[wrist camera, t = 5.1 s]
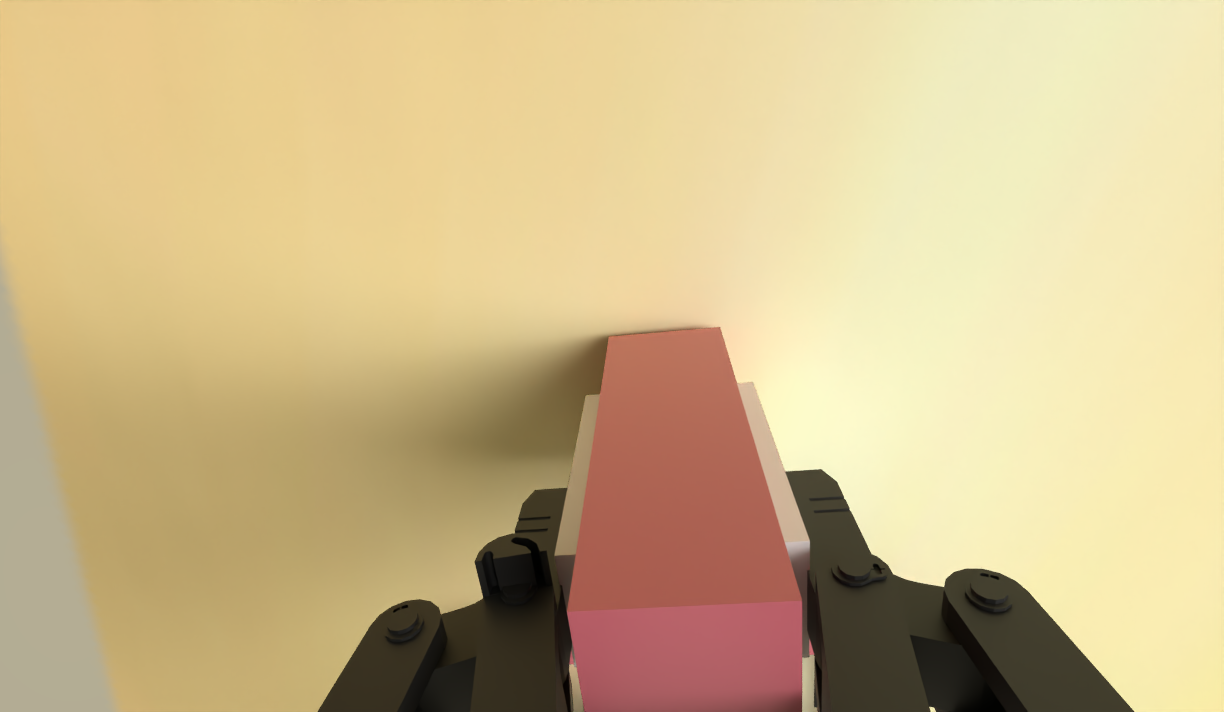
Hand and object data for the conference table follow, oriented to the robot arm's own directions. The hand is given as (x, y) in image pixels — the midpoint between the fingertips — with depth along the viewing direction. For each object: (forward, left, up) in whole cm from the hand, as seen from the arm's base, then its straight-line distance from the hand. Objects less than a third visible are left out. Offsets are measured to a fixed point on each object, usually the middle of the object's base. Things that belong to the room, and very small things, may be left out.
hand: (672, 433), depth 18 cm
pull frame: (+9, 0, -1) cm, 9 cm away
